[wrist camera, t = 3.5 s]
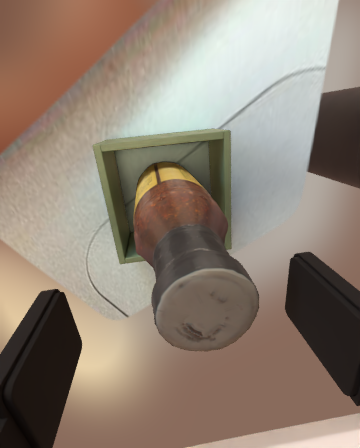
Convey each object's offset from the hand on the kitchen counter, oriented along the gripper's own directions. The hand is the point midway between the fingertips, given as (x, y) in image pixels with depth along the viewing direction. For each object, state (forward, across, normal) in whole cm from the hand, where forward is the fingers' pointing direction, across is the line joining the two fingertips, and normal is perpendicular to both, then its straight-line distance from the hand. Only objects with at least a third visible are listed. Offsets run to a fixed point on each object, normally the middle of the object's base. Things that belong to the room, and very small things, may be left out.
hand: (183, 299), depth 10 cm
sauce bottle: (+19, 0, 0) cm, 19 cm away
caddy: (+19, 0, 0) cm, 19 cm away
